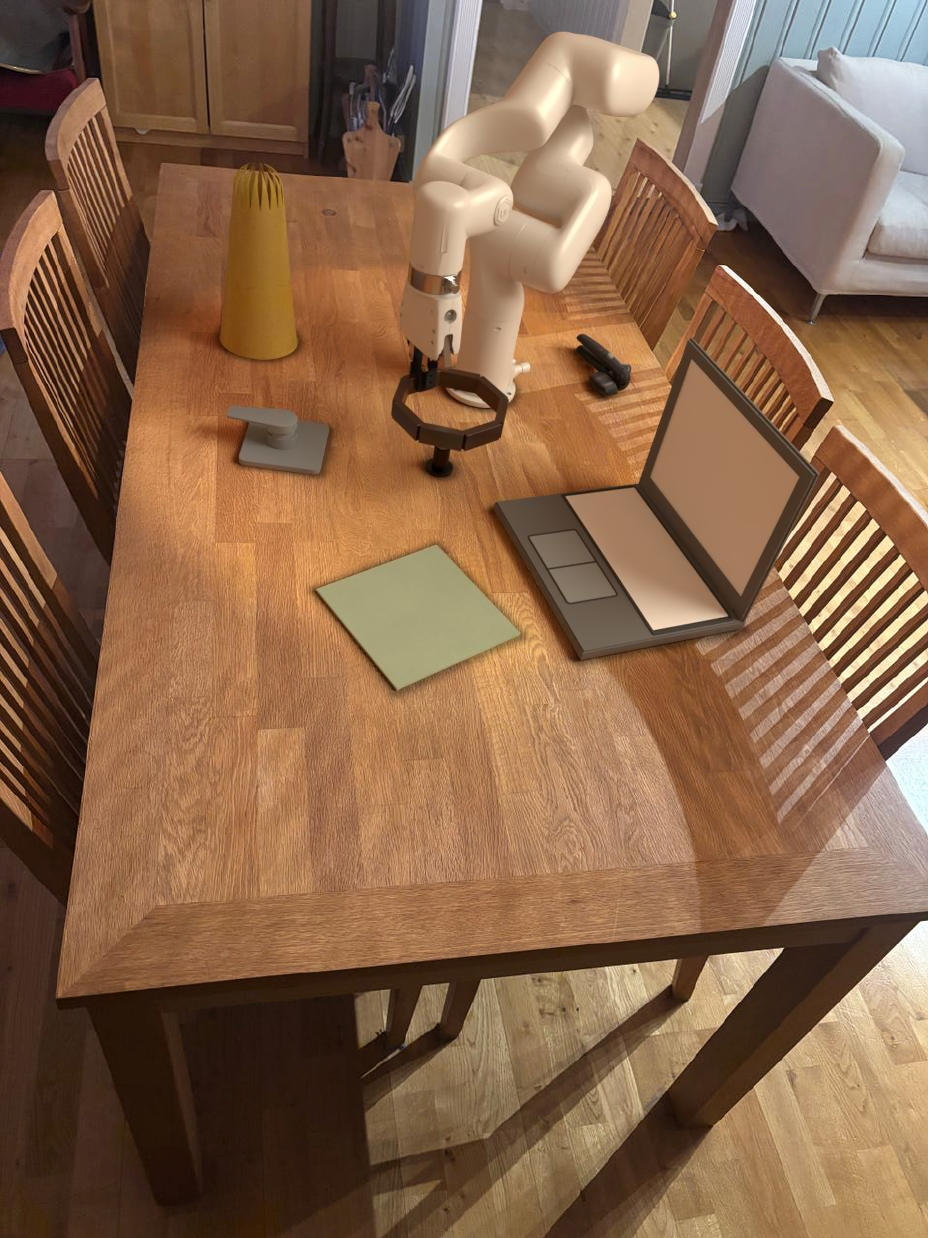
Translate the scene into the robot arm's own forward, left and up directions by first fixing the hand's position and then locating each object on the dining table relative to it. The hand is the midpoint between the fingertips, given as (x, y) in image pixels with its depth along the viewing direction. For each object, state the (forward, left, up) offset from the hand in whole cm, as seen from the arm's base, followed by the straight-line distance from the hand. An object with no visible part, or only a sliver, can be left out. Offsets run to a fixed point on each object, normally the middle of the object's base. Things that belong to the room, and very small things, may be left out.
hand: (421, 385), depth 151 cm
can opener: (-44, -3, -11) cm, 45 cm away
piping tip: (+9, -37, -11) cm, 40 cm away
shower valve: (+21, -8, -11) cm, 25 cm away
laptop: (-9, +39, -11) cm, 41 cm away
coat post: (+1, +8, -11) cm, 13 cm away
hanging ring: (0, +8, -1) cm, 8 cm away
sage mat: (+22, +33, -11) cm, 41 cm away
